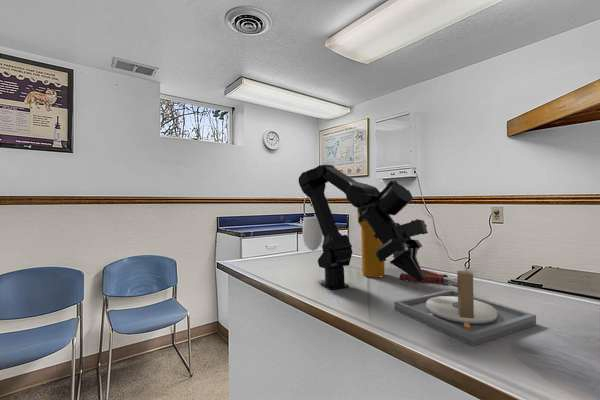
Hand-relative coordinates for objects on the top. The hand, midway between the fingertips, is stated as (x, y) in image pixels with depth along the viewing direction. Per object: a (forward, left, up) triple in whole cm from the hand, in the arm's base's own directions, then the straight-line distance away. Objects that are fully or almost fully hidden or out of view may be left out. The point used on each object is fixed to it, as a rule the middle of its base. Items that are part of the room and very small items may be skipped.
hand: (422, 280), depth 69 cm
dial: (+5, +6, -6) cm, 10 cm away
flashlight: (-33, +12, -8) cm, 36 cm away
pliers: (-18, +23, -8) cm, 30 cm away
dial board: (+5, +6, -8) cm, 11 cm away
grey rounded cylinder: (-42, -7, -8) cm, 44 cm away
